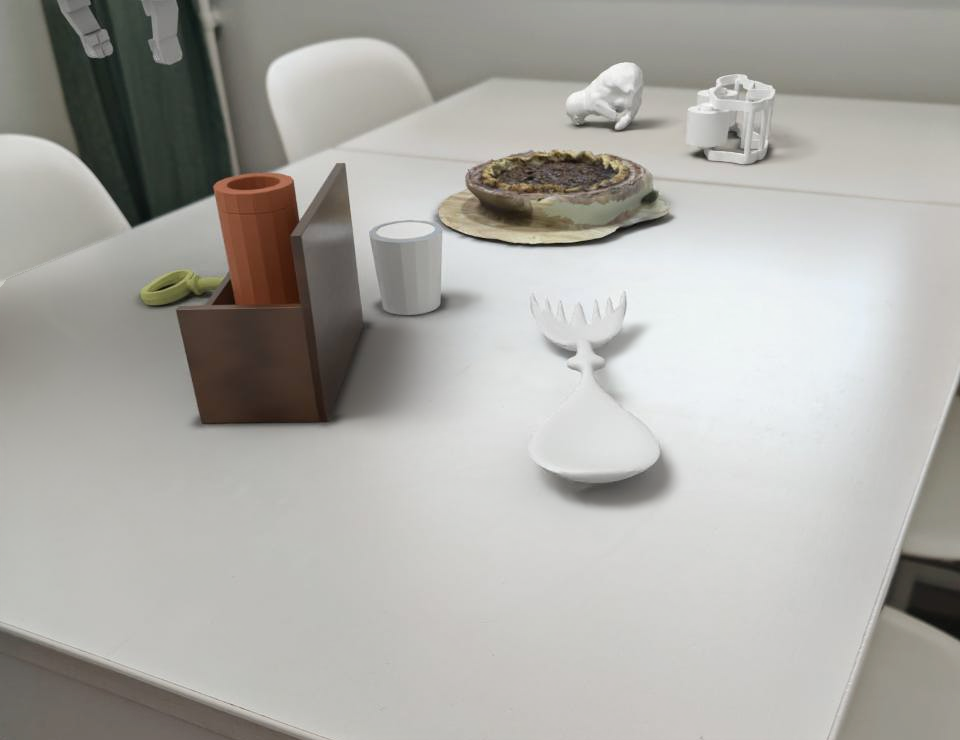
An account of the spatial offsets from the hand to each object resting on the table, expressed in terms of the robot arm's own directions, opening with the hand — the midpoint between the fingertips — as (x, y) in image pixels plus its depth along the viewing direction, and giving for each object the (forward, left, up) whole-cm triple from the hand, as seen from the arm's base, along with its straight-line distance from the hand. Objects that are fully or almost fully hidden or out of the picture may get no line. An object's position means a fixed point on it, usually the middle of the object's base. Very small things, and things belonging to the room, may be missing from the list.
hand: (134, 59), depth 82 cm
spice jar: (+11, -11, -17) cm, 23 cm away
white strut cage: (+60, +63, -22) cm, 90 cm away
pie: (+35, +34, -22) cm, 54 cm away
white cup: (+21, +3, -22) cm, 30 cm away
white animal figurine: (+43, +78, -22) cm, 92 cm away
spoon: (+37, -19, -22) cm, 47 cm away
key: (-1, +7, -22) cm, 23 cm away
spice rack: (+12, -12, -22) cm, 27 cm away
